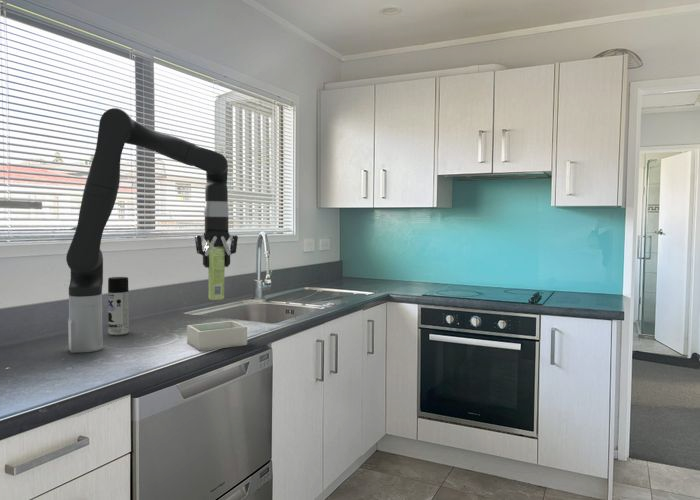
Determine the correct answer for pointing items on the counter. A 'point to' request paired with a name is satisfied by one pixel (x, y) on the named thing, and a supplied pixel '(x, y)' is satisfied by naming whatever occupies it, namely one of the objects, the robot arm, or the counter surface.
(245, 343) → the box
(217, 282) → the tube
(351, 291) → the counter surface
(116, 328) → the spray can
